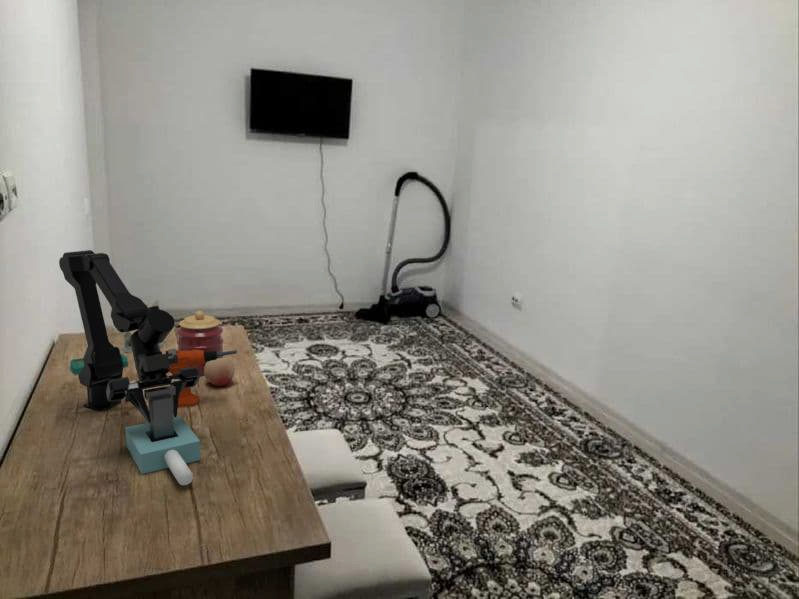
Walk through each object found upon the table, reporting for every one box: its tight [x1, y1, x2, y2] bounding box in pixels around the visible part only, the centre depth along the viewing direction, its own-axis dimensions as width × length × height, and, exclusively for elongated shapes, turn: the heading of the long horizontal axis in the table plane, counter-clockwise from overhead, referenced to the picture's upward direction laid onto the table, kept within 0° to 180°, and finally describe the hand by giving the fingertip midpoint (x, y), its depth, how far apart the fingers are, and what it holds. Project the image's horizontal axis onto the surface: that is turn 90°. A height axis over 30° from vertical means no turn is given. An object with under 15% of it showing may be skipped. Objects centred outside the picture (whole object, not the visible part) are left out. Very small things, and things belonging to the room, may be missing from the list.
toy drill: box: [169, 349, 238, 408], centre depth 162 cm, size 5×19×15 cm, turn 105°
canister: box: [176, 310, 224, 376], centre depth 185 cm, size 13×13×18 cm
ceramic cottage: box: [120, 299, 168, 354], centre depth 203 cm, size 16×16×15 cm
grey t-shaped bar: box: [143, 385, 176, 442], centre depth 135 cm, size 4×6×14 cm, turn 124°
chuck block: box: [124, 415, 201, 486], centre depth 133 cm, size 24×12×4 cm, turn 35°
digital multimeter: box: [69, 352, 129, 375], centre depth 184 cm, size 7×15×3 cm, turn 125°
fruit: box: [203, 357, 235, 387], centre depth 175 cm, size 8×8×8 cm
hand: (162, 419), depth 134 cm, fingers closed on grey t-shaped bar, 5 cm apart
